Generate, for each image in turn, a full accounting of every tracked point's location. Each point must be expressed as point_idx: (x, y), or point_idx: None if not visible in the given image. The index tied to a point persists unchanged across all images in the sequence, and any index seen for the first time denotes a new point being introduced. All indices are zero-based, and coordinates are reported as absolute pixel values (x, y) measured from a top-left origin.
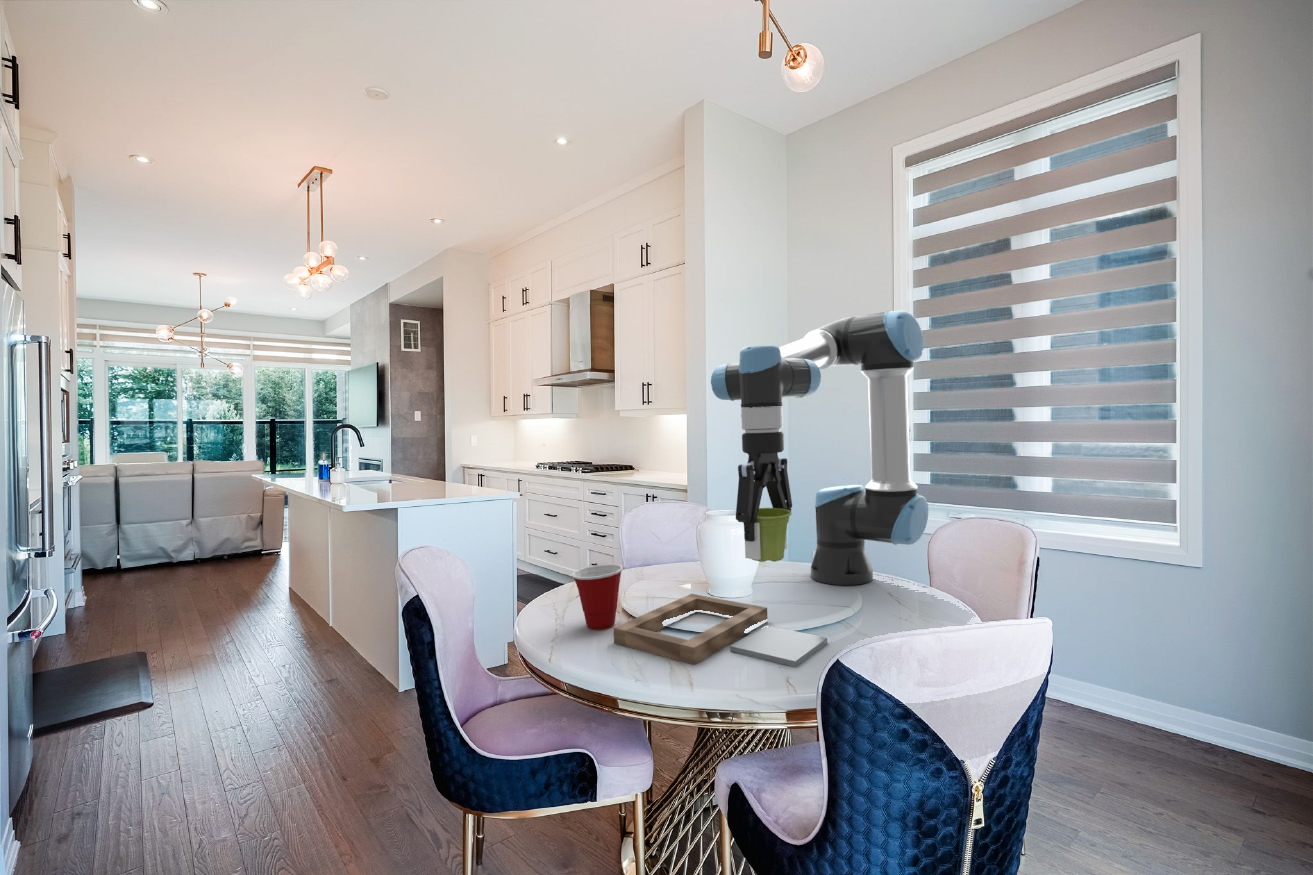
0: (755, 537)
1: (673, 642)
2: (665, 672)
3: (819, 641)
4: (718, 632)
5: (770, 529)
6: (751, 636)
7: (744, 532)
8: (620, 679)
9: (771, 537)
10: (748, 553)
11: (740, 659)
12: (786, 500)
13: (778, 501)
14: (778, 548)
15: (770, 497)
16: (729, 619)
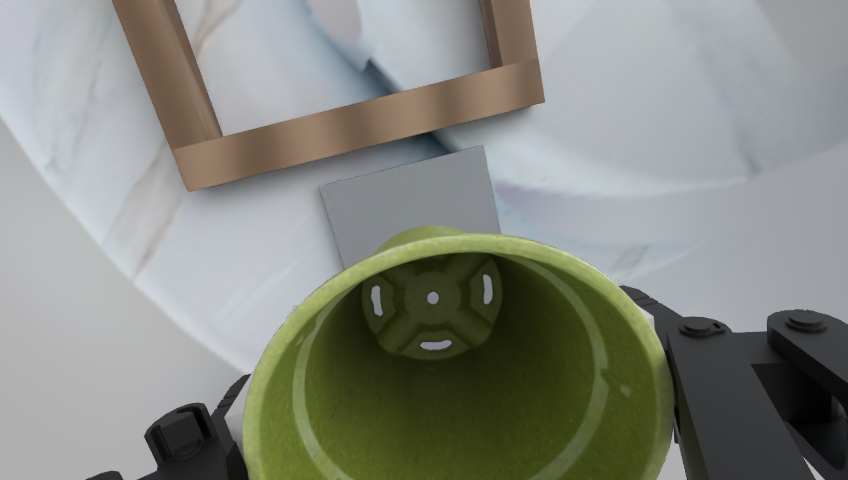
0: None
1: (163, 127)
2: (129, 175)
3: (484, 301)
4: (304, 155)
5: (372, 477)
6: (400, 177)
7: (217, 410)
8: (18, 135)
9: (383, 437)
10: None
11: (308, 233)
12: (811, 451)
13: (690, 474)
14: (425, 398)
15: (694, 443)
16: (395, 99)
